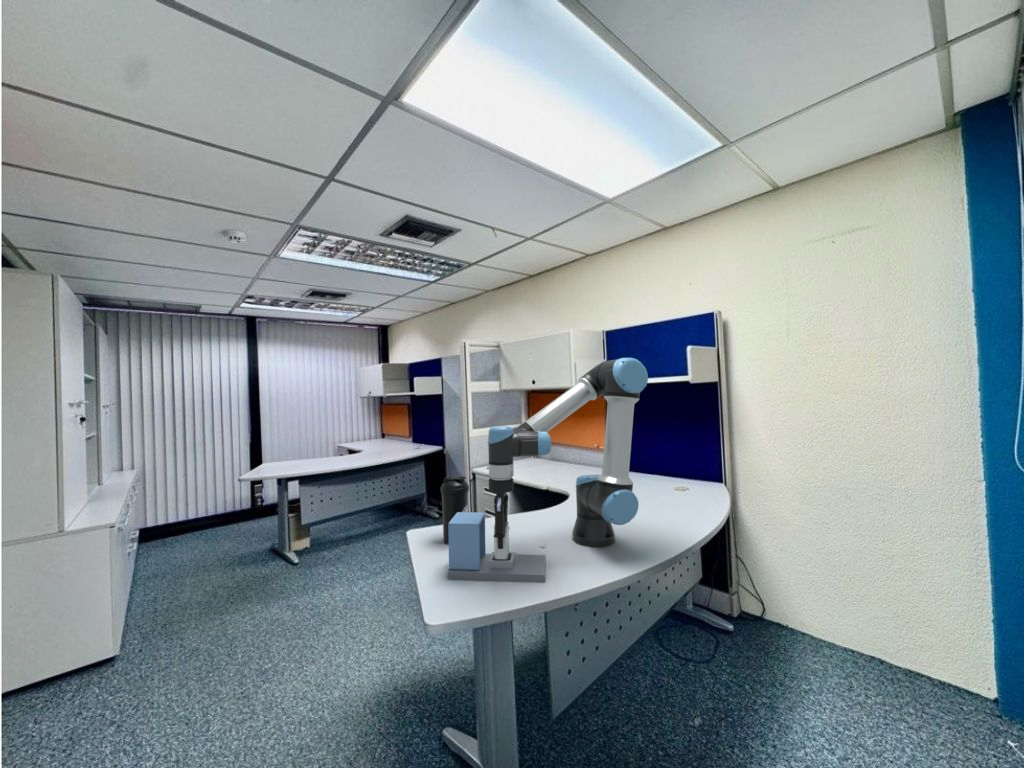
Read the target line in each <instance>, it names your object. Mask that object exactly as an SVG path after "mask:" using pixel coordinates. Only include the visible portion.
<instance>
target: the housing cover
mask: <svg viewBox="0 0 1024 768" xmlns="http://www.w3.org/2000/svg"><path fill="white" fill-rule="evenodd" d="M448 529H449V545H448V570H449V569H467V570H480V556H485V555H486V554H487V551H486V512H478V511H477V512H473V511H472V512H471V511H468V512H457V513H456V514H455V516H454V517H453V518H452V520H451V521H450V522H449V523H448Z"/></svg>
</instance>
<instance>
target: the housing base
mask: <svg viewBox="0 0 1024 768" xmlns="http://www.w3.org/2000/svg"><path fill="white" fill-rule="evenodd" d="M515 553H516V552H514V551H509V557H508V560H494V551H492V552H491V553H486V555H485V556H480V570H467V569H449V568H448V571H447V580H453V581H454V580H456V581H457V580H458V581H485V582H486V581H492V582H496V581H497V582H521V583H522V582H523V583H525V582H526V583H527V582H528V583H529V582H530V583H546V570H547V569H546V567H547V565H546V564H547V556H546V555H547V554H525V553H524V554H523V553H522V554H515Z"/></svg>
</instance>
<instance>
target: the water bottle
mask: <svg viewBox="0 0 1024 768" xmlns="http://www.w3.org/2000/svg"><path fill="white" fill-rule="evenodd" d="M465 479H467V477H466V476H456V477H455V476H454V477H451V475H449V476H448V475H447V476H446V477H444V478H443V480H442V484H441V486H440V493H441V505H442V507H441V508H442V533H443V543H444V544H446V545H448V546H449V529H448V523H449V522H450V521H451V520H452V518H453V517H454V516H455V514H456V513H457V512H469V511H468V509H469V507H468V506H469V504H468V503H469V499H468V498H469V491H470V485H469V484H468V482H467V481H466V480H465Z"/></svg>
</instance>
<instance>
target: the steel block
mask: <svg viewBox="0 0 1024 768" xmlns="http://www.w3.org/2000/svg"><path fill="white" fill-rule="evenodd" d="M509 524H510V523H509V521H508V522H505V547H506V559H496V537H493V552H494V560H508V557H509V552H510V537H509V536H510V525H509ZM493 535H495V524H494V525H493Z"/></svg>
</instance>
